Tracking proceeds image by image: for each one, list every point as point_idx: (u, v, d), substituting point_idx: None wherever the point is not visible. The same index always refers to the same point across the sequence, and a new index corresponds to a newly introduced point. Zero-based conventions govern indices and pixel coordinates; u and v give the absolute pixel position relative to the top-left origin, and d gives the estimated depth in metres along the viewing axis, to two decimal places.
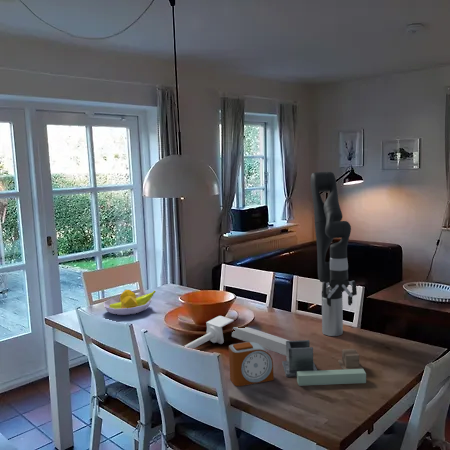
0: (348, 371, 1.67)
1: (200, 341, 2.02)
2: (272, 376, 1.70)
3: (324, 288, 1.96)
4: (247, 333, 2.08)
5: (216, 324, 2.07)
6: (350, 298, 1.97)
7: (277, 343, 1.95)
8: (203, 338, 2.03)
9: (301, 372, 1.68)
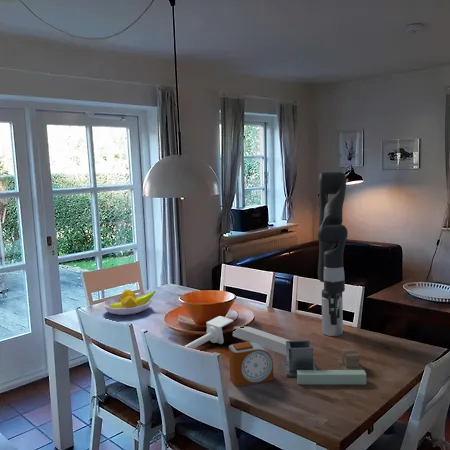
0: (348, 372, 1.66)
1: (200, 341, 2.01)
2: (272, 376, 1.70)
3: (335, 305, 1.66)
4: (248, 333, 2.09)
5: (216, 324, 2.07)
6: (339, 309, 1.77)
7: (277, 343, 1.95)
8: (203, 338, 2.03)
9: (301, 371, 1.69)
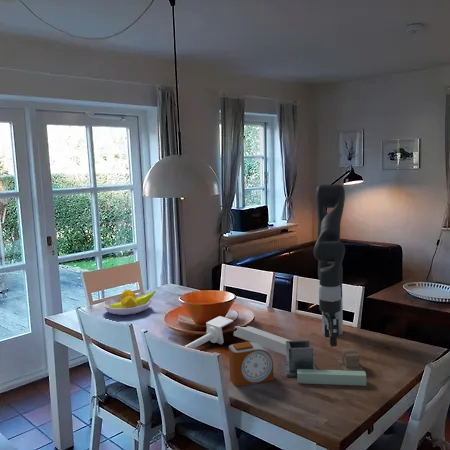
0: (349, 372, 1.66)
1: (200, 341, 2.01)
2: (272, 376, 1.70)
3: None
4: (248, 332, 2.09)
5: (216, 324, 2.07)
6: None
7: (277, 343, 1.96)
8: (203, 338, 2.03)
9: (301, 370, 1.69)
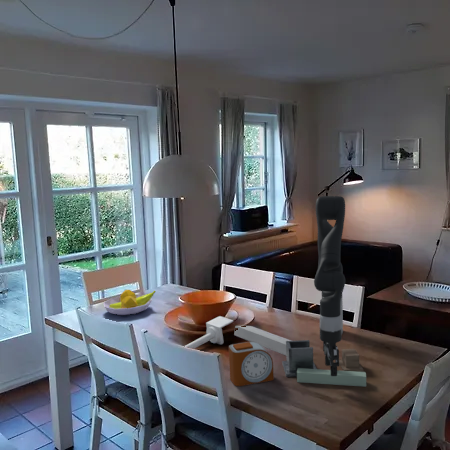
0: (349, 373, 1.65)
1: (200, 342, 2.01)
2: (272, 376, 1.70)
3: None
4: (249, 332, 2.09)
5: (216, 325, 2.07)
6: None
7: (277, 342, 1.96)
8: (203, 338, 2.03)
9: (301, 369, 1.70)
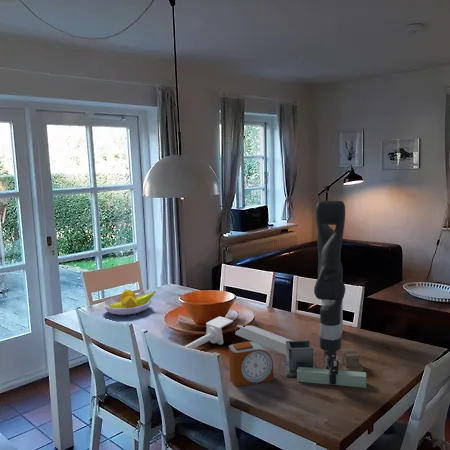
0: (349, 373, 1.65)
1: (199, 342, 2.01)
2: (272, 376, 1.70)
3: None
4: (249, 331, 2.10)
5: (216, 325, 2.06)
6: None
7: (277, 342, 1.96)
8: (202, 338, 2.02)
9: (302, 368, 1.70)
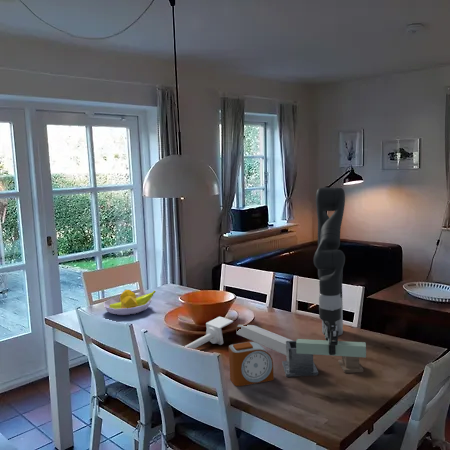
0: (348, 343, 1.64)
1: (199, 342, 2.01)
2: (272, 376, 1.70)
3: None
4: (250, 331, 2.10)
5: (216, 325, 2.06)
6: None
7: (277, 342, 1.96)
8: (202, 339, 2.02)
9: (301, 340, 1.69)
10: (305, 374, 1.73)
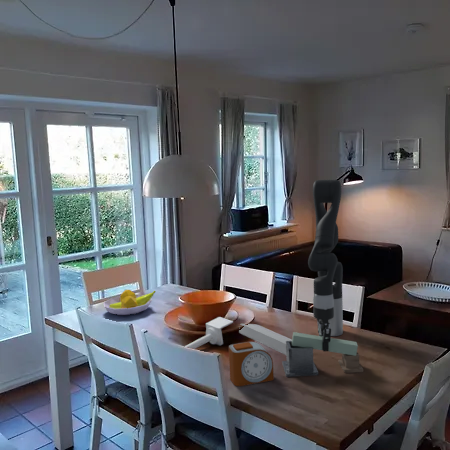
0: (341, 341, 1.76)
1: (199, 342, 2.00)
2: (272, 376, 1.70)
3: None
4: (252, 330, 2.11)
5: (215, 325, 2.06)
6: None
7: (277, 341, 1.97)
8: (202, 339, 2.02)
9: (297, 333, 1.78)
10: (305, 374, 1.73)
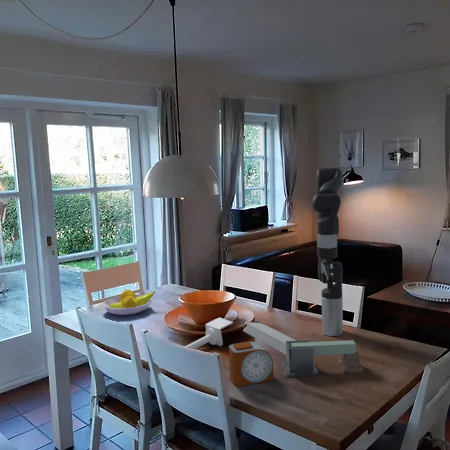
0: (339, 342, 1.77)
1: (198, 343, 1.99)
2: (272, 376, 1.70)
3: None
4: (255, 329, 2.13)
5: (215, 326, 2.05)
6: (327, 275, 1.86)
7: (278, 341, 1.98)
8: (201, 340, 2.01)
9: (295, 343, 1.78)
10: (305, 374, 1.73)
